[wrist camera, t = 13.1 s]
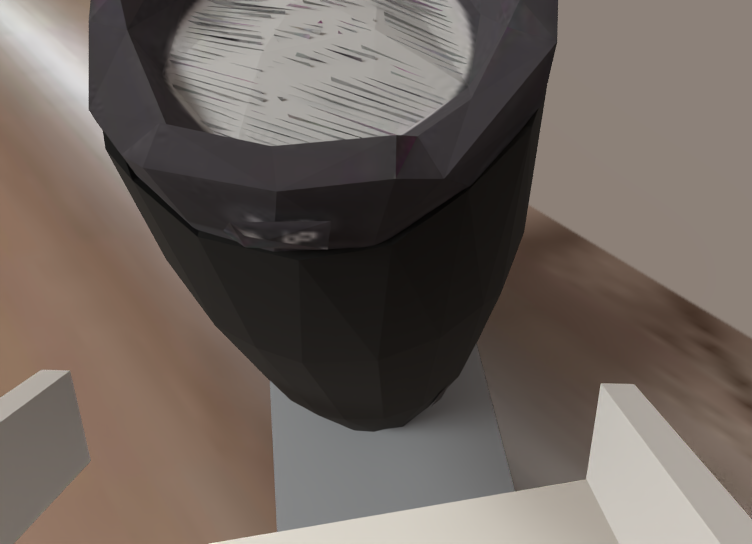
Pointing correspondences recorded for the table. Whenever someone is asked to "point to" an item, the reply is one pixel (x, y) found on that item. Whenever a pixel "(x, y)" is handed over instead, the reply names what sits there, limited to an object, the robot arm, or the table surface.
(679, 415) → the table surface
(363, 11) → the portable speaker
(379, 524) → the square spool
